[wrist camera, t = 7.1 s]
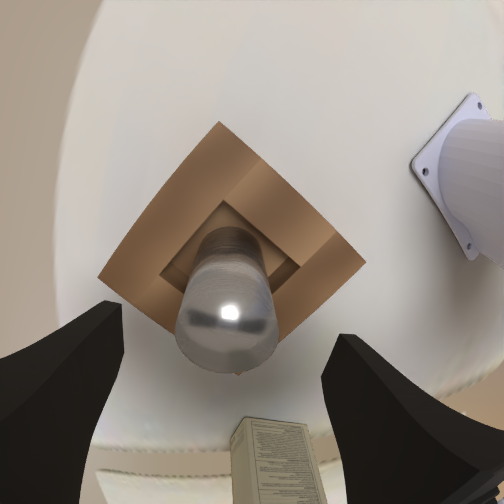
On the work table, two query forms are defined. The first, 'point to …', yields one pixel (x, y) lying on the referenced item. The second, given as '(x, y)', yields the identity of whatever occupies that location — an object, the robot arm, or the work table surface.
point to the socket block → (230, 214)
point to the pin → (228, 305)
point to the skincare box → (274, 464)
